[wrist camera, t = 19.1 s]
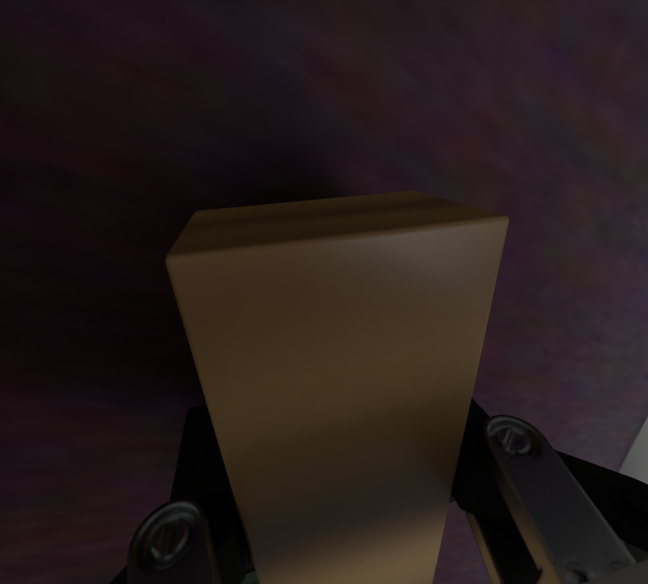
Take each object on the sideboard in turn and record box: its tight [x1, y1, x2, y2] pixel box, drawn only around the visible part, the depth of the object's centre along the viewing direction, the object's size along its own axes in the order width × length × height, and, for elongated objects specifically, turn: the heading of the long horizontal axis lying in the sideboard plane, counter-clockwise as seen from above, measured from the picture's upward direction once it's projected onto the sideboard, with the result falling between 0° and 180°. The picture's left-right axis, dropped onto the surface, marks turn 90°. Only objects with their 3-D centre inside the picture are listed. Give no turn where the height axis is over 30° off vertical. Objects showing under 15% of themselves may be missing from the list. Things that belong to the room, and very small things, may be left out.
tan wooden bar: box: [165, 191, 509, 584], centre depth 9 cm, size 12×5×5 cm, turn 4°
